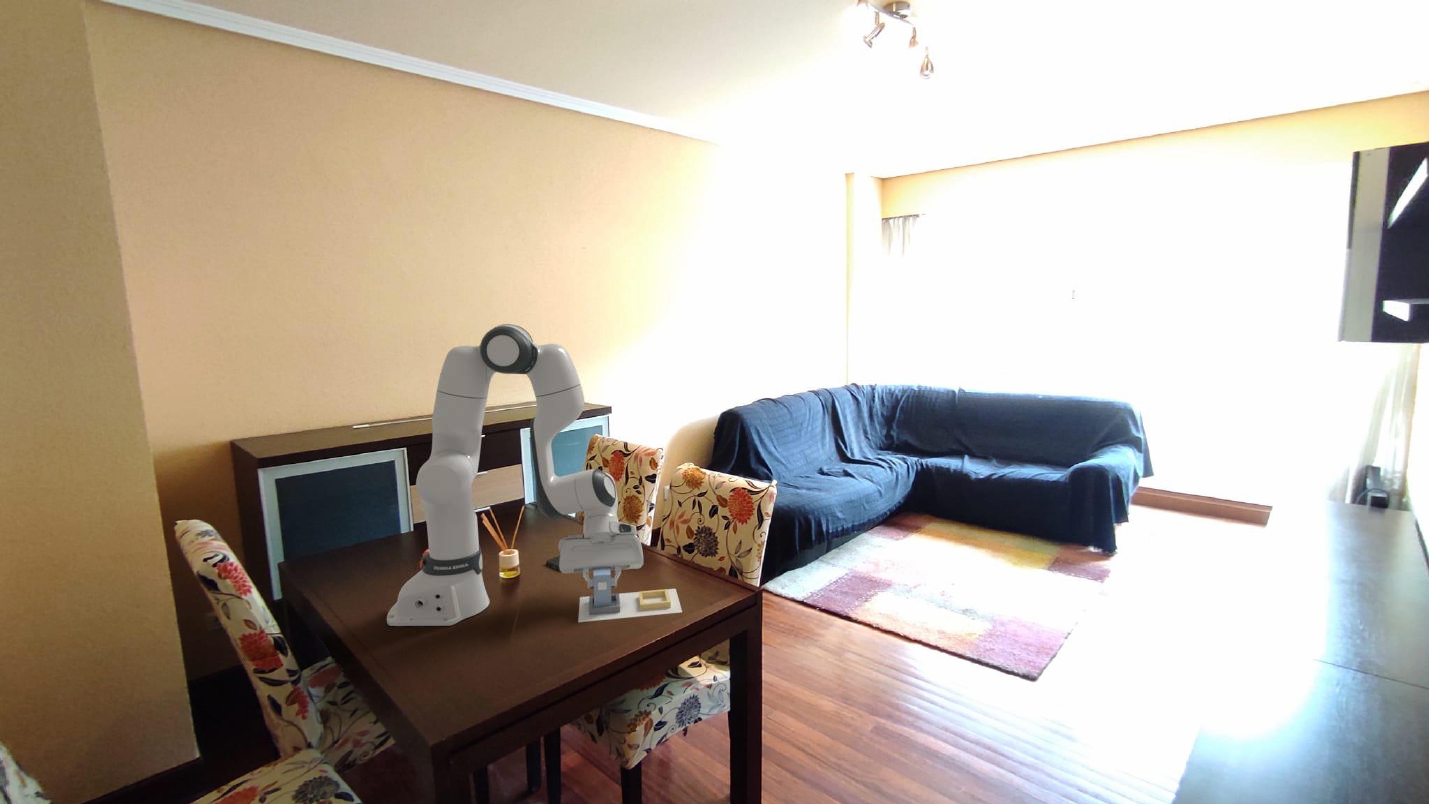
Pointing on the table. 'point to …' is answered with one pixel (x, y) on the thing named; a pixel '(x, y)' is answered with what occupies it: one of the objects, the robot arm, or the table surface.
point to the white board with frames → (631, 605)
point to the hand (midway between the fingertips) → (602, 587)
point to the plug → (602, 587)
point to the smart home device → (554, 562)
